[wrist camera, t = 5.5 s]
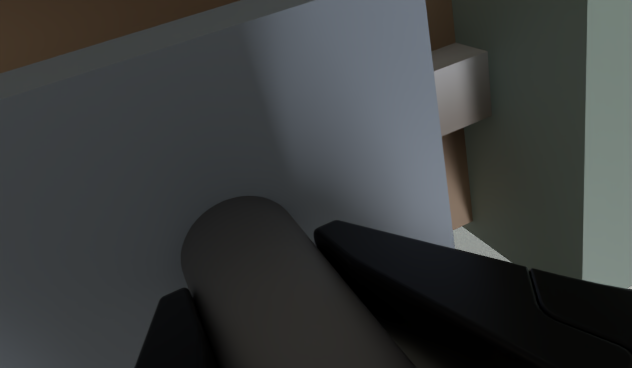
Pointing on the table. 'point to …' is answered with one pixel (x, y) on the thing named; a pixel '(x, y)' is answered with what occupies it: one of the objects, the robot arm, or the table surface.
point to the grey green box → (554, 134)
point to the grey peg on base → (216, 182)
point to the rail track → (175, 3)
